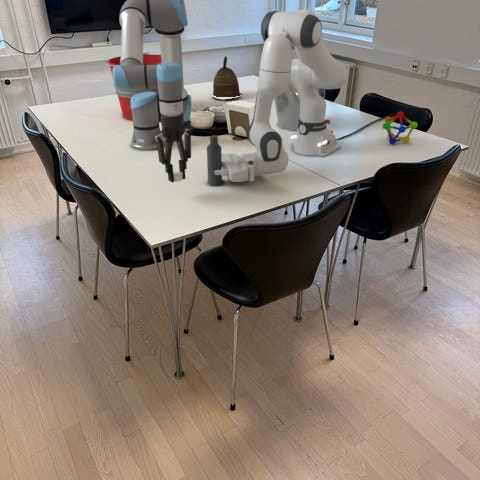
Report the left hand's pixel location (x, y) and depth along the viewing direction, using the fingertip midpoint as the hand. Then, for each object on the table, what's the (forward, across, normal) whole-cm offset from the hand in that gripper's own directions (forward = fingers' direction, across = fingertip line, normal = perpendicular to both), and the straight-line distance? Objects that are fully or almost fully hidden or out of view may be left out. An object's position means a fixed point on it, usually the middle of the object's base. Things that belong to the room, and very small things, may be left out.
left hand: (176, 179), depth 157 cm
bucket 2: (+6, +92, +38) cm, 100 cm away
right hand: (+1, +17, +3) cm, 17 cm away
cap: (-2, 0, 0) cm, 2 cm away
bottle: (+7, +18, +2) cm, 19 cm away
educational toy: (+7, +113, -10) cm, 113 cm away
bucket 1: (+6, +36, +102) cm, 108 cm away
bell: (+6, +95, +107) cm, 143 cm away
